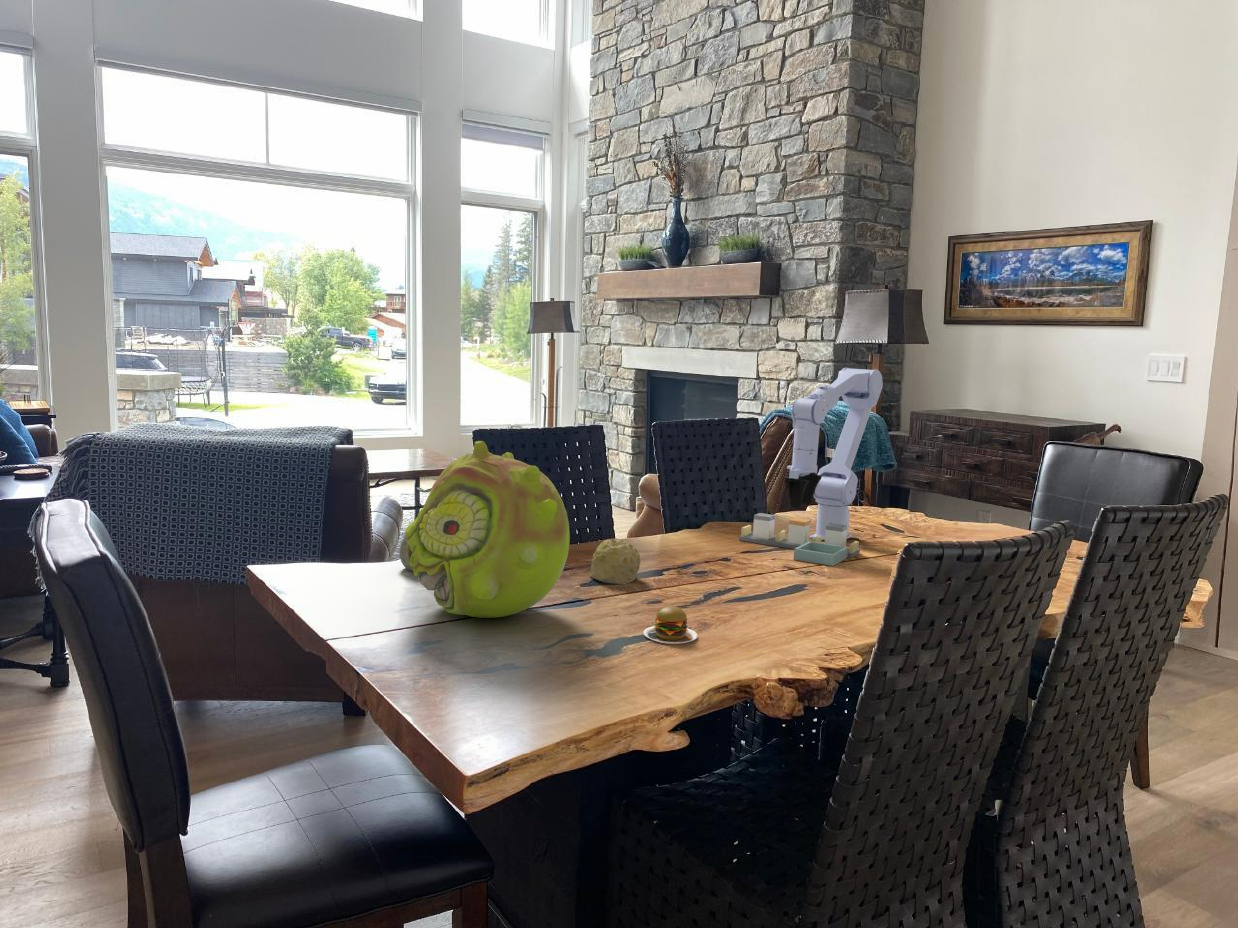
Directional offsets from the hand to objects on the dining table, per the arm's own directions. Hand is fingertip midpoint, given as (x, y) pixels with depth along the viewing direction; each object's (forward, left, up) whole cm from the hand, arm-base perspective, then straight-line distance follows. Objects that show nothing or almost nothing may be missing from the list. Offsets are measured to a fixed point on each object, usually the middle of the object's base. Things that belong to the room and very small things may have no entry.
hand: (800, 505), depth 226 cm
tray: (+8, +9, -10) cm, 16 cm away
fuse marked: (0, 0, -9) cm, 9 cm away
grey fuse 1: (0, -9, -9) cm, 13 cm away
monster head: (+89, -24, -10) cm, 93 cm away
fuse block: (0, 0, -10) cm, 10 cm away
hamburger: (+80, +7, -11) cm, 81 cm away
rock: (+54, -19, -10) cm, 58 cm away
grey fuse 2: (0, +9, -9) cm, 13 cm away
